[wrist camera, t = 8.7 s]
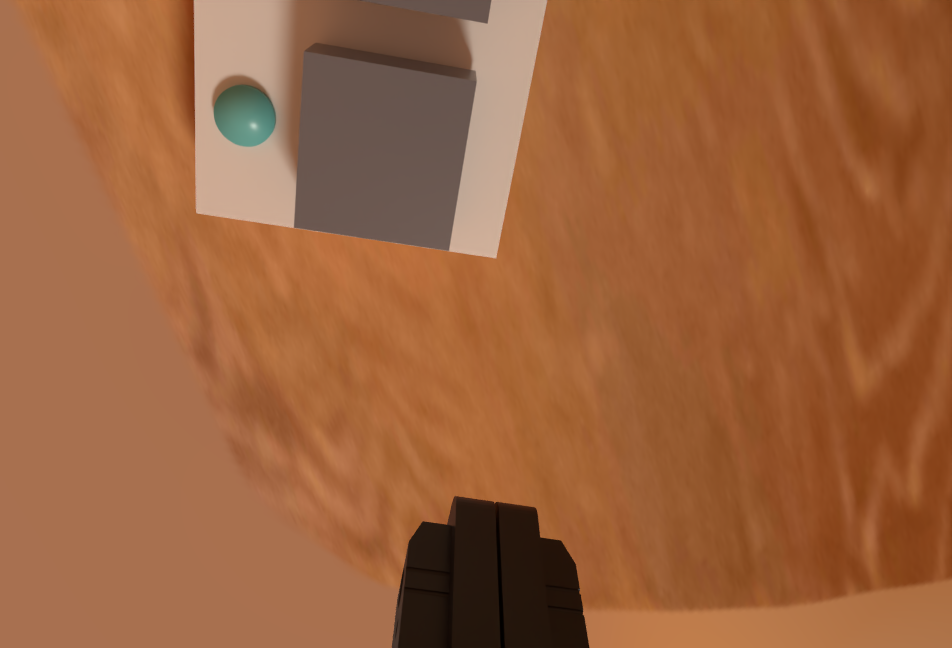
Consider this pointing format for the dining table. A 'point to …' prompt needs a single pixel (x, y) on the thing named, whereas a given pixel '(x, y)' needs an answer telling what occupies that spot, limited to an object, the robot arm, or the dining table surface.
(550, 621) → the robot arm
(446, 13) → the middle key
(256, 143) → the keypad
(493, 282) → the dining table surface
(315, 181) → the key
